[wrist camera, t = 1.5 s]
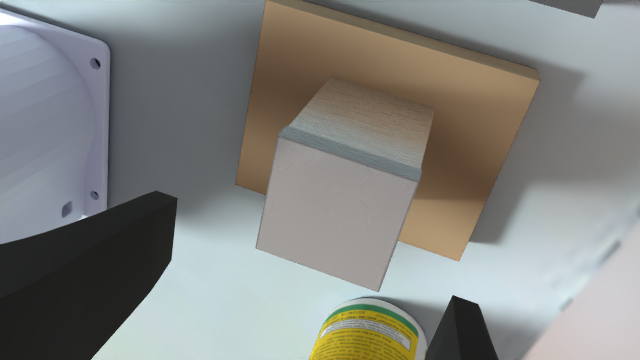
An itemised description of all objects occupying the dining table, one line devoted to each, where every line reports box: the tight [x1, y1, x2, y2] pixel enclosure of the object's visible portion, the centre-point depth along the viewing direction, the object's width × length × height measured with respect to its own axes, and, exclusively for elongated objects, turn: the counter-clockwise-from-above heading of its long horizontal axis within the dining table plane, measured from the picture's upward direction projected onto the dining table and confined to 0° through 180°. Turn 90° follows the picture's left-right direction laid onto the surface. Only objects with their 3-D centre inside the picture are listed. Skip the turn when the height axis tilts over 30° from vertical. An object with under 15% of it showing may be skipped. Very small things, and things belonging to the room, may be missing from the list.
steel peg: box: [256, 76, 435, 292], centre depth 19 cm, size 4×4×6 cm
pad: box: [235, 0, 540, 261], centre depth 22 cm, size 8×10×2 cm
